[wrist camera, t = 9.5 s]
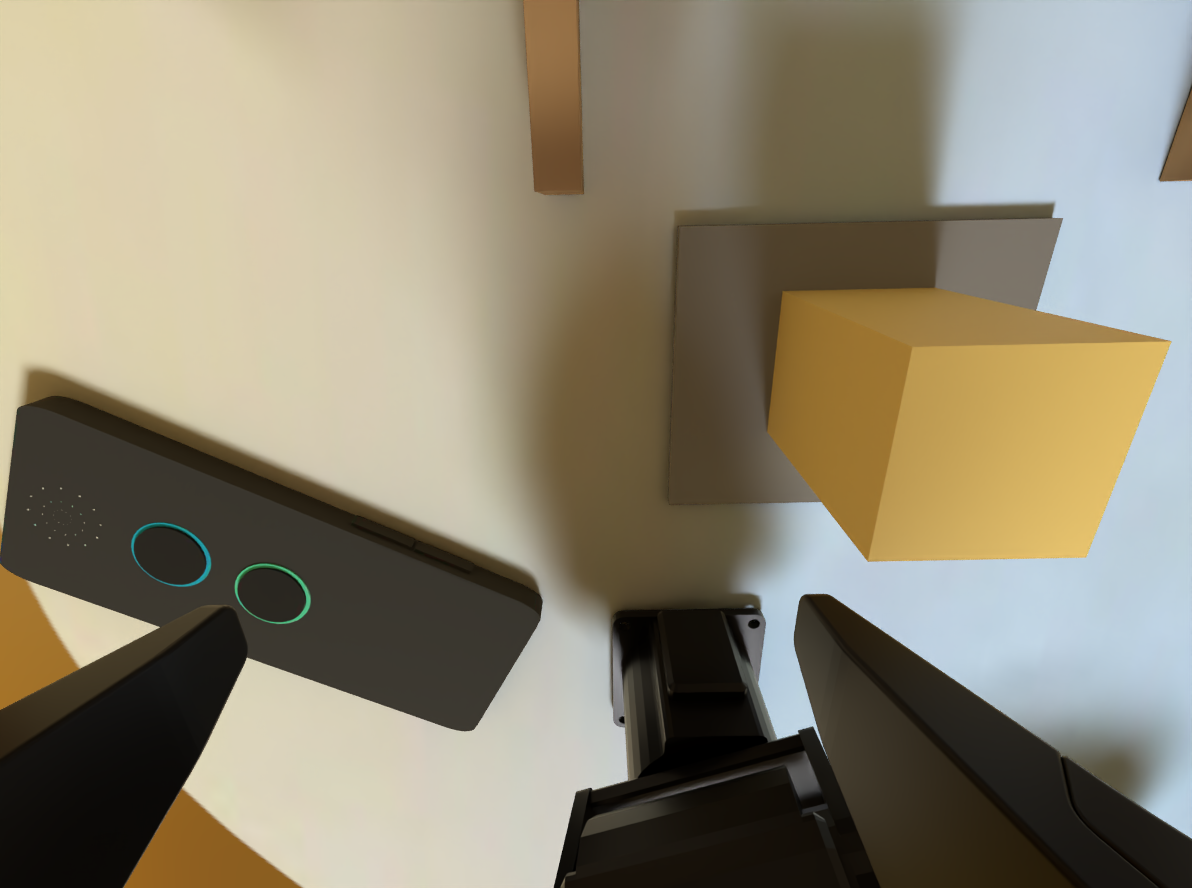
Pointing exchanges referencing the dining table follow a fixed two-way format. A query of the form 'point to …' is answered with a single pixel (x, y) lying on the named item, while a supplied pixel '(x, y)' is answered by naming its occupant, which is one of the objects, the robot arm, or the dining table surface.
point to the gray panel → (752, 312)
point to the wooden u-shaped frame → (561, 109)
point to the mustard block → (956, 420)
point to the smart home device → (256, 564)
